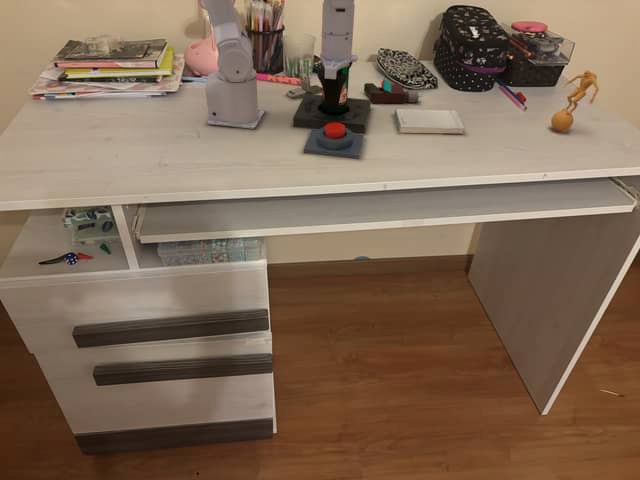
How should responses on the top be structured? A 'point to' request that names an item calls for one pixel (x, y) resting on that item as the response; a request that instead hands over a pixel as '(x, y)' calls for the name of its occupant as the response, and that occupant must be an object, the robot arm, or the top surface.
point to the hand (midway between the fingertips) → (334, 101)
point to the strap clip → (303, 88)
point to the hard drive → (428, 121)
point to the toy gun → (390, 93)
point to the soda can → (343, 98)
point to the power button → (335, 130)
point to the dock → (314, 119)
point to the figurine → (574, 101)
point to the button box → (334, 144)
